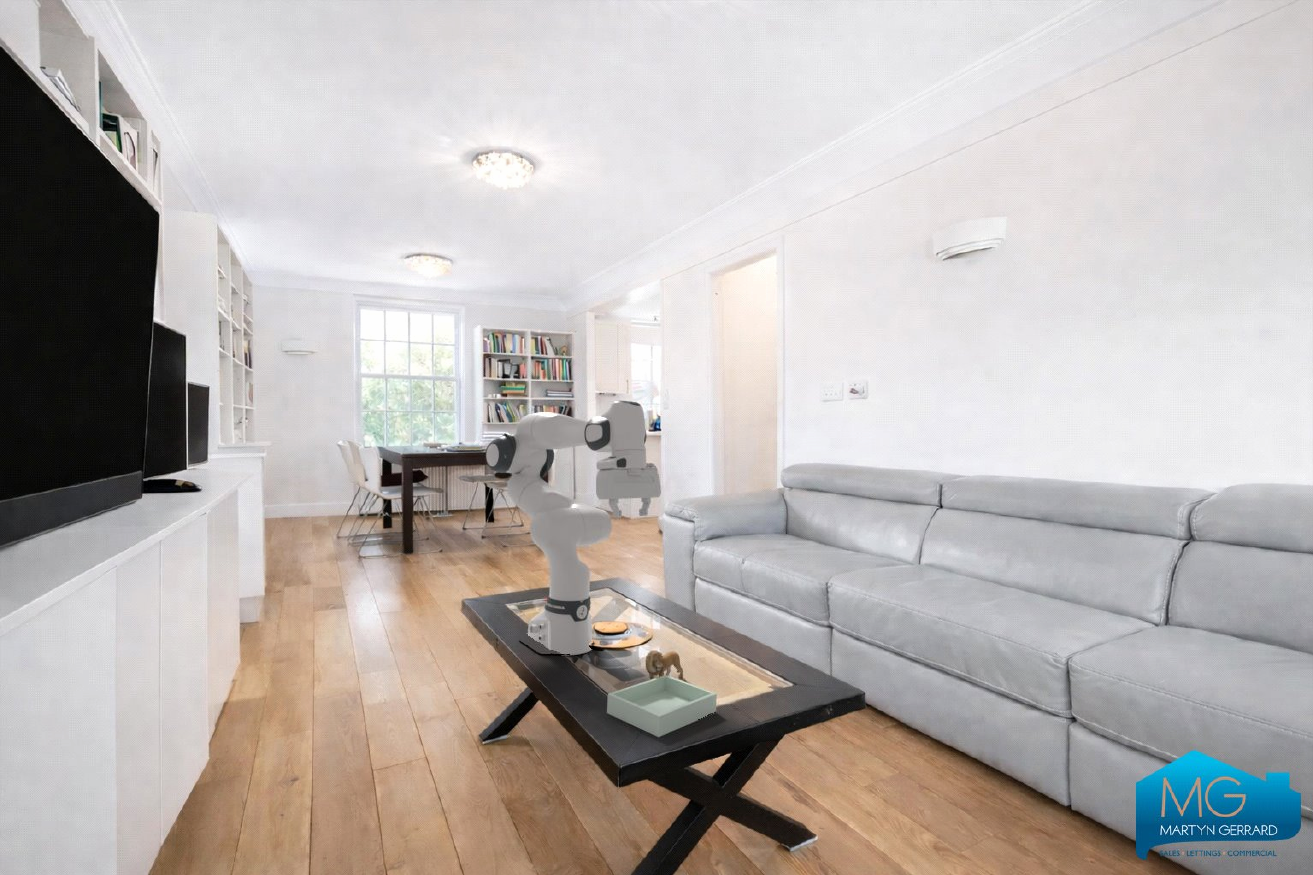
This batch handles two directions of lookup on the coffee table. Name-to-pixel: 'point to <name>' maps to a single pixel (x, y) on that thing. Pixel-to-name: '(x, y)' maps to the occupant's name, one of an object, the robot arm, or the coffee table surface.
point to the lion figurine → (662, 663)
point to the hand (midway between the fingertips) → (630, 516)
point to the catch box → (661, 704)
